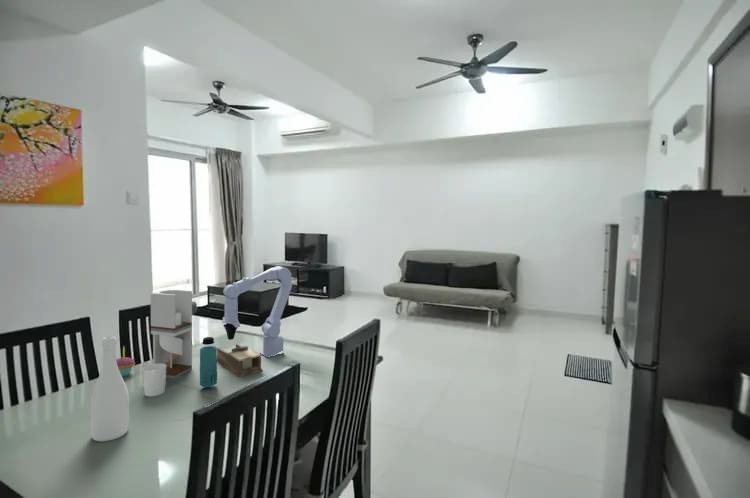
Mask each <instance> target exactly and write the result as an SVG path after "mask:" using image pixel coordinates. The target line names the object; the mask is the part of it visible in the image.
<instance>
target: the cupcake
mask: <svg viewBox="0 0 750 498" xmlns="http://www.w3.org/2000/svg"><path fill="white" fill-rule="evenodd" d="M125 348H126V347H125V346H123V347H122V357H118V358H116V362H117V366H118V369H119V371H120V374H121V376H122V377H126V376H129V375H130V374H131V371H132V368H133V367H134V366H135V365H136V362H135V359H133V358H132V357H126V353H125V352H126V349H125Z"/></svg>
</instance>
